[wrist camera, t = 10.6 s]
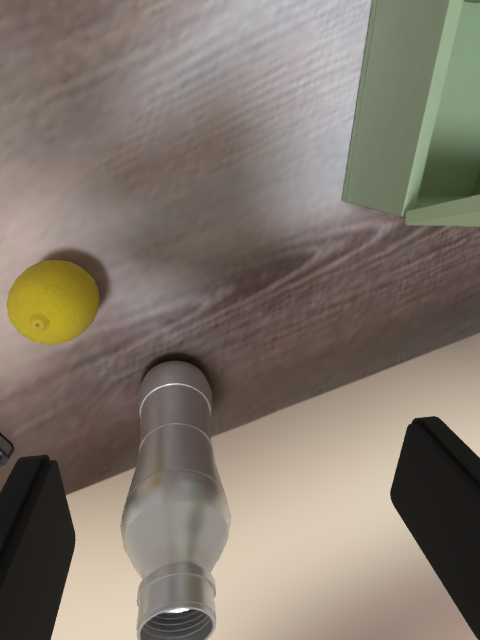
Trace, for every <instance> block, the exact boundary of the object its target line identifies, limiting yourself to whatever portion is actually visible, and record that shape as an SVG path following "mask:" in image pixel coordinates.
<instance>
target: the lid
mask: <svg viewBox="0 0 480 640" xmlns="http://www.w3.org/2000/svg"><path fill="white" fill-rule="evenodd" d="M406 225H432V226H480V194H479V195H475V196H471V197H466V198H462V199H458V200H453V201H449V202H445V203H440V204H436V205H432V206H427V207H423V208H419V209H414V210H410V211H407V212H406Z"/></svg>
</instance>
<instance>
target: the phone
mask: <svg viewBox="0 0 480 640" xmlns="http://www.w3.org/2000/svg"><path fill="white" fill-rule="evenodd" d="M12 451H13V449H12V446H11V445H10V444H9V443H8V442H7V441H6V440H5V439H4V438H3V437H2V436H1V435H0V467H1V466H3V465H5V464H6V463H7V461H8V459H9V458H10V456H11V454H12Z"/></svg>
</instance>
